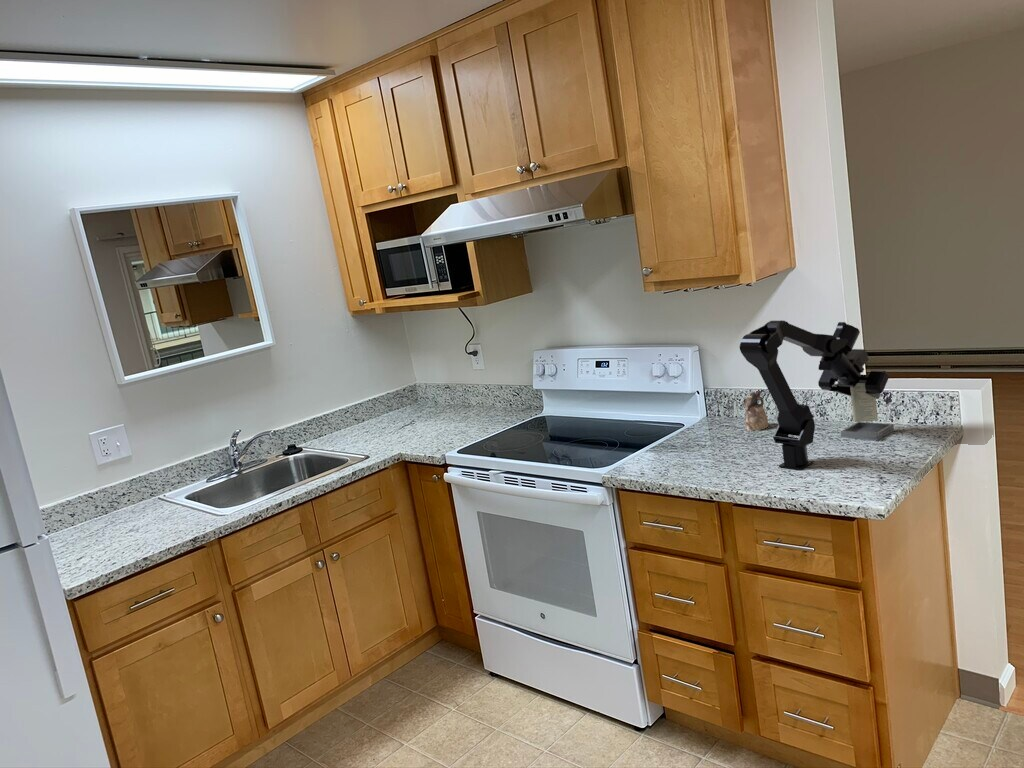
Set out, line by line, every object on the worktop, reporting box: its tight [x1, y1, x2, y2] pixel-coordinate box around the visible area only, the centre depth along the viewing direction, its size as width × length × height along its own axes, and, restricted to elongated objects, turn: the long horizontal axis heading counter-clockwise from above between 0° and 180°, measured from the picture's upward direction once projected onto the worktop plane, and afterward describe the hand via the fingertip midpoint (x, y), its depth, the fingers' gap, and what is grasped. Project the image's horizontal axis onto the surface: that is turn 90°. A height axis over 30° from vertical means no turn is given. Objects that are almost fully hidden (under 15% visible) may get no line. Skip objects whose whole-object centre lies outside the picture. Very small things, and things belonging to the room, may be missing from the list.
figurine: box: [743, 389, 769, 432], centre depth 241 cm, size 7×7×12 cm
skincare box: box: [850, 383, 879, 423], centre depth 216 cm, size 6×4×12 cm
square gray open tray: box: [840, 421, 895, 441], centre depth 217 cm, size 10×10×2 cm
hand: (866, 396), depth 217 cm, fingers closed on skincare box, 7 cm apart
